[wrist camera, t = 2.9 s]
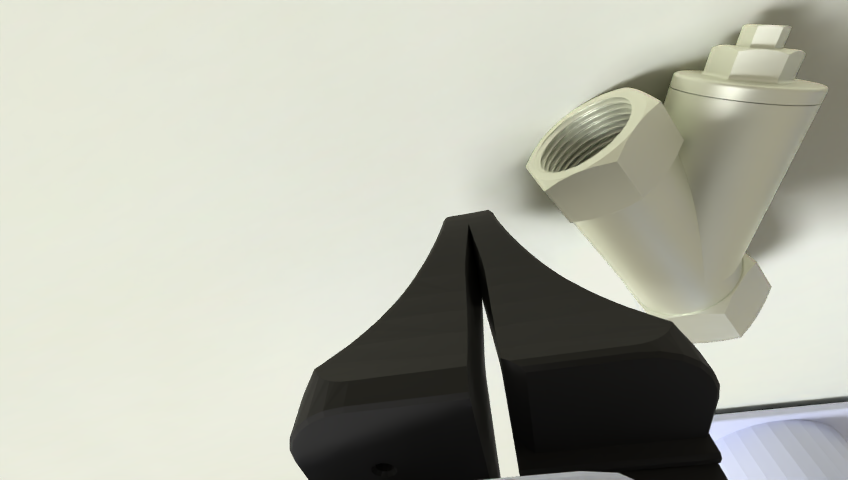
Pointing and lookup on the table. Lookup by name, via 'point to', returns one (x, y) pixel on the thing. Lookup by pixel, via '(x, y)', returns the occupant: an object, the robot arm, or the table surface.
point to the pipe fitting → (686, 179)
